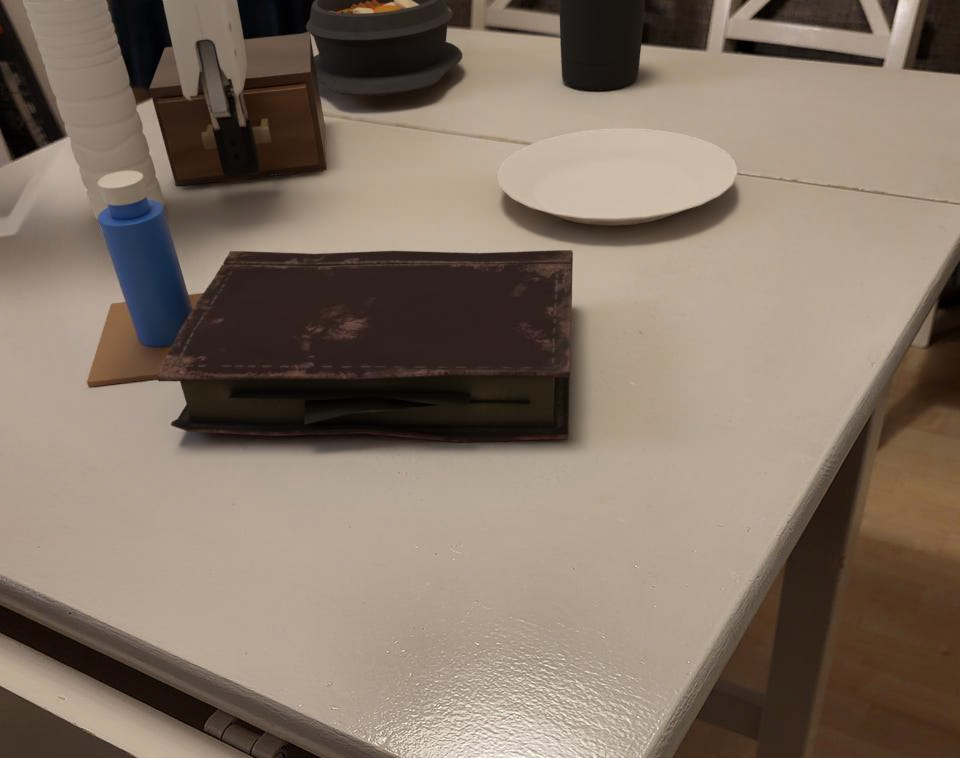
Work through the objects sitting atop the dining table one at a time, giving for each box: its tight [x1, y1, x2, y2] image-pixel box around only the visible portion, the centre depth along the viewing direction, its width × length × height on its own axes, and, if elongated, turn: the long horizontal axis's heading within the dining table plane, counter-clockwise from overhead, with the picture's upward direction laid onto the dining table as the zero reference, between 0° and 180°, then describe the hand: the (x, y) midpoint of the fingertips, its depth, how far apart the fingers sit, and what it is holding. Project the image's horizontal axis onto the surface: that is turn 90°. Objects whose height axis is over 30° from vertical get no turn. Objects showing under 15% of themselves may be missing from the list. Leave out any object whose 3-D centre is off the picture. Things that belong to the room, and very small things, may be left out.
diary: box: [156, 249, 574, 443], centre depth 65 cm, size 19×25×5 cm
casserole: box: [305, 0, 463, 97], centre depth 113 cm, size 25×19×8 cm
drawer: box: [158, 83, 319, 180], centre depth 94 cm, size 17×14×7 cm
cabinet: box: [149, 32, 328, 187], centre depth 97 cm, size 14×15×9 cm
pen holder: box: [558, 0, 646, 92], centre depth 107 cm, size 9×9×10 cm
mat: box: [86, 292, 204, 388], centre depth 72 cm, size 10×12×1 cm
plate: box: [496, 127, 739, 227], centre depth 86 cm, size 21×21×2 cm
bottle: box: [97, 171, 193, 347], centre depth 68 cm, size 4×4×11 cm
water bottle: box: [22, 0, 165, 221], centre depth 82 cm, size 9×6×25 cm
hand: (242, 170), depth 88 cm, fingers closed
